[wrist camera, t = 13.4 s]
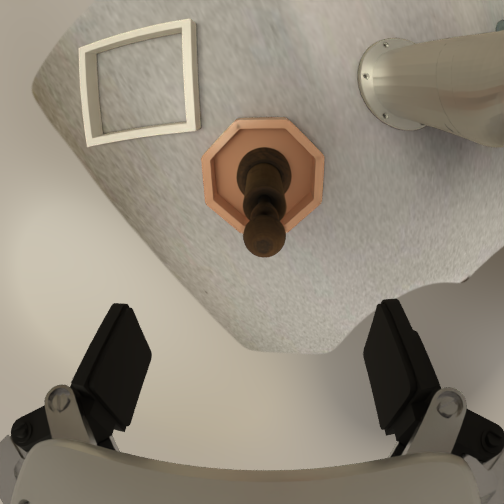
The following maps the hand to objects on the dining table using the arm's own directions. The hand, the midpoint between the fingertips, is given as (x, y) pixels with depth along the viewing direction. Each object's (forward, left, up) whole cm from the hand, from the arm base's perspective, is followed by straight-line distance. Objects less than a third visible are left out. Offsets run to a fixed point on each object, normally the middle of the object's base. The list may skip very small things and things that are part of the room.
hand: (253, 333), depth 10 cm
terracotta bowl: (0, +2, -28) cm, 28 cm away
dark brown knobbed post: (0, +2, -28) cm, 28 cm away
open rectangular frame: (+15, -11, -28) cm, 34 cm away
